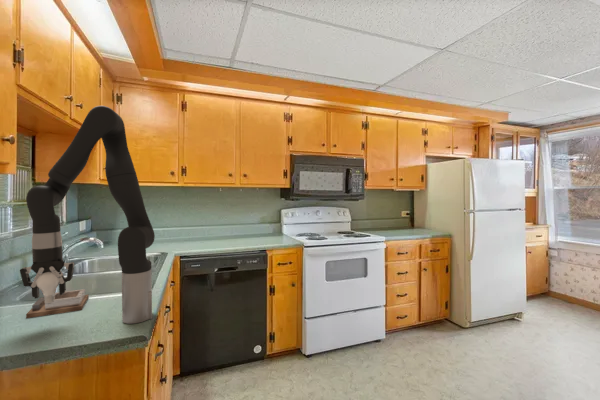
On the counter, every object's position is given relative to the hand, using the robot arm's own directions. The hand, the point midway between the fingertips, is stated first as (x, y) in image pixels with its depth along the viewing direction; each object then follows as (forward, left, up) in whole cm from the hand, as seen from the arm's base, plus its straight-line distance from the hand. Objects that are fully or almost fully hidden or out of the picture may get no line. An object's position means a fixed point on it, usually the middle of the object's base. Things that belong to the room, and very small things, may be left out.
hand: (49, 295), depth 97 cm
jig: (+1, -18, -10) cm, 21 cm away
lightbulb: (0, 0, -3) cm, 3 cm away
